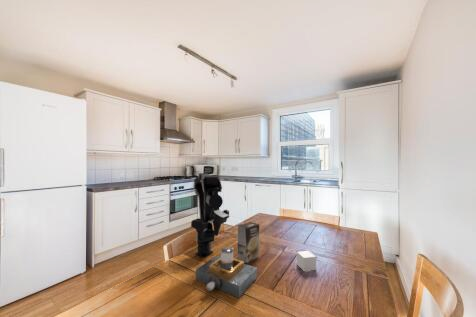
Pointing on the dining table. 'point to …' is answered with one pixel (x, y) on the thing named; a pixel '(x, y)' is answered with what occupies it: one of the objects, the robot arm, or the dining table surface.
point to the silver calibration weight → (227, 258)
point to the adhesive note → (306, 260)
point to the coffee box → (248, 242)
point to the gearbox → (227, 276)
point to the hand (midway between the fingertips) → (210, 238)
